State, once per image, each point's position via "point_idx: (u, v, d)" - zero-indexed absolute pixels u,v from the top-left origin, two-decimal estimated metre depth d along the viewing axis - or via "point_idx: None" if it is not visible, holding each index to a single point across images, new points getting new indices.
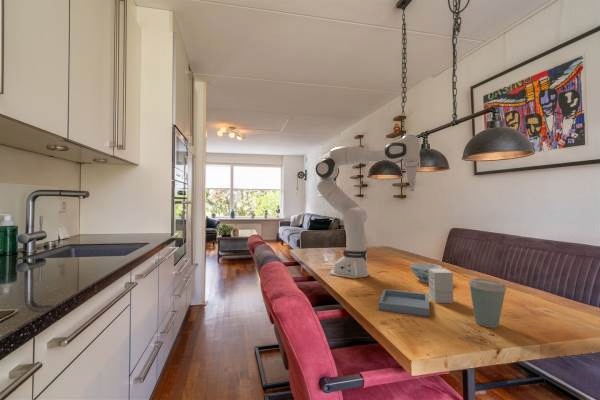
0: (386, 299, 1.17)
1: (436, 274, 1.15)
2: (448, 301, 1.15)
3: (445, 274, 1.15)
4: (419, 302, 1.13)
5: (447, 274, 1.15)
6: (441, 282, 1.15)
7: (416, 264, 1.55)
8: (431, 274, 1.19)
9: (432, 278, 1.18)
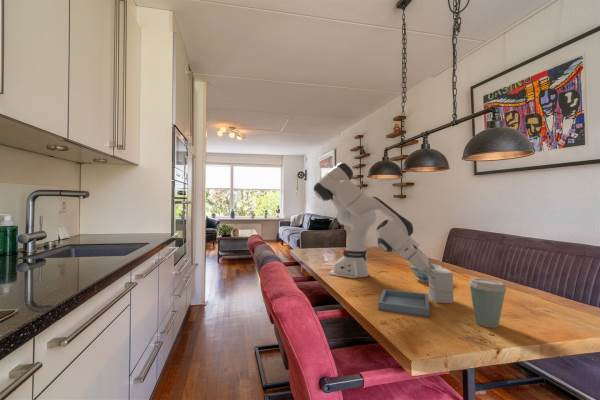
0: (386, 299, 1.17)
1: (436, 274, 1.15)
2: (448, 301, 1.15)
3: (445, 274, 1.15)
4: (419, 302, 1.13)
5: (447, 274, 1.15)
6: (441, 281, 1.15)
7: None
8: None
9: (432, 278, 1.18)
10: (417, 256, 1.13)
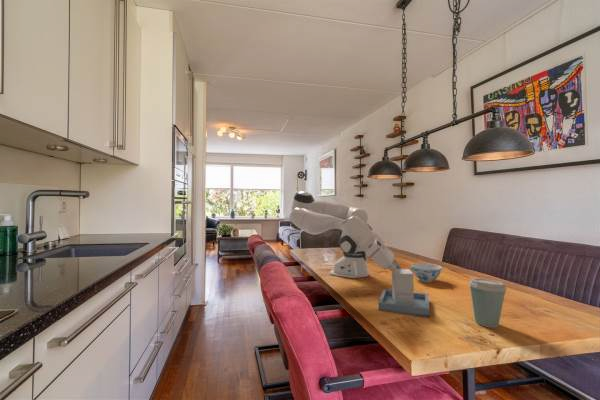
0: (386, 299, 1.17)
1: (396, 275, 1.11)
2: (408, 303, 1.10)
3: (405, 275, 1.10)
4: (419, 302, 1.13)
5: (407, 275, 1.10)
6: (401, 283, 1.10)
7: (416, 264, 1.55)
8: (392, 275, 1.14)
9: (393, 279, 1.13)
10: (380, 253, 1.07)
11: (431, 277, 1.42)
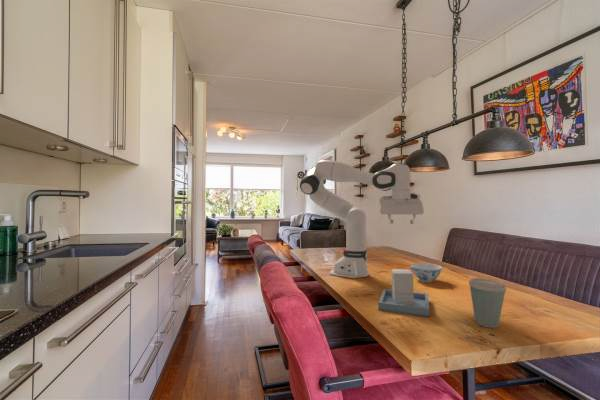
0: (386, 299, 1.17)
1: (395, 275, 1.11)
2: (408, 303, 1.10)
3: (405, 275, 1.10)
4: (419, 302, 1.13)
5: (407, 275, 1.10)
6: (401, 283, 1.11)
7: (416, 264, 1.55)
8: (392, 275, 1.14)
9: (393, 279, 1.14)
10: None
11: (431, 277, 1.42)
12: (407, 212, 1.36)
